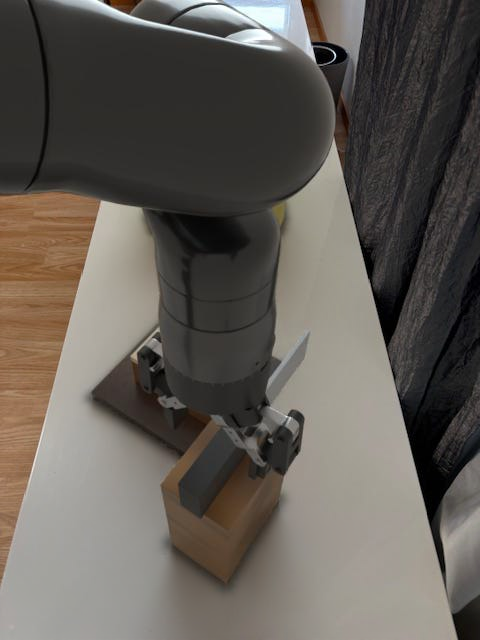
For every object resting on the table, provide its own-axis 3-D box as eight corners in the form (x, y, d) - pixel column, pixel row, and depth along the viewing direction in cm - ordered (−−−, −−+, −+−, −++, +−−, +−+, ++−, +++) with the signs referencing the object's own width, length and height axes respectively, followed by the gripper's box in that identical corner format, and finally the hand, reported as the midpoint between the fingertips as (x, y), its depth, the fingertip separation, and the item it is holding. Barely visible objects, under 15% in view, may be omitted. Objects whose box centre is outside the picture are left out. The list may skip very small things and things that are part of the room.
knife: (200, 519, 52) (199, 498, 48) (180, 505, 52) (177, 483, 49) (311, 362, 63) (318, 335, 59) (293, 352, 64) (298, 325, 60)
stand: (226, 584, 65) (228, 531, 51) (171, 544, 68) (160, 484, 54) (278, 500, 71) (293, 433, 57) (227, 467, 74) (229, 396, 60)
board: (206, 471, 74) (205, 466, 72) (92, 397, 80) (90, 391, 79) (282, 367, 84) (283, 362, 83) (177, 310, 91) (176, 304, 90)
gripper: (97, 322, 37) (128, 435, 50) (281, 429, 33) (263, 525, 45) (167, 257, 41) (179, 377, 54) (339, 344, 37) (308, 454, 49)
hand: (217, 444), depth 50 cm, fingers open, 8 cm apart
